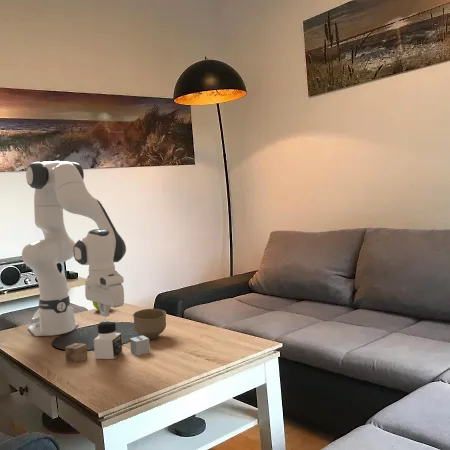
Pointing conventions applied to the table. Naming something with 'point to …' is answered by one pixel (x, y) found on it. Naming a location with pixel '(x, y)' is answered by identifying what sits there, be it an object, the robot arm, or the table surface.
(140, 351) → the grey painted block
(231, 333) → the table surface
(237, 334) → the table surface
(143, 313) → the bowl
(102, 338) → the medicine bottle
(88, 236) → the robot arm
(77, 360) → the walnut block
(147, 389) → the table surface
